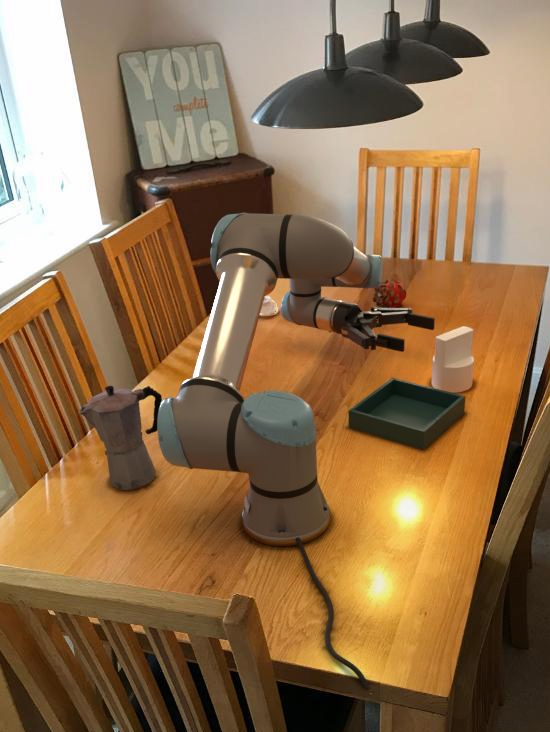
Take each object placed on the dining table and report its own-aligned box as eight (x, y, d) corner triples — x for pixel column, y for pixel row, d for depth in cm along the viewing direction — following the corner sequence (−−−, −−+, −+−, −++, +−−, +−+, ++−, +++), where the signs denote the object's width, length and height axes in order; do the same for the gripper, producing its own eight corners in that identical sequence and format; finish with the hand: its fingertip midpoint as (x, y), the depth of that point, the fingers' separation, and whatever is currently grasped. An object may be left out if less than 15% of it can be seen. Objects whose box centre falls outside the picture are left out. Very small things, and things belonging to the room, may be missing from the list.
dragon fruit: (380, 322, 223) (392, 312, 233) (406, 305, 219) (417, 295, 229) (363, 294, 222) (375, 285, 232) (389, 277, 217) (400, 269, 227)
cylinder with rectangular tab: (451, 396, 183) (454, 345, 176) (423, 383, 189) (424, 333, 182) (480, 384, 187) (484, 333, 180) (451, 371, 193) (454, 321, 186)
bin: (464, 413, 176) (465, 395, 174) (423, 450, 165) (424, 431, 163) (392, 394, 185) (392, 377, 183) (348, 427, 174) (348, 410, 172)
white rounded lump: (274, 322, 226) (274, 306, 223) (249, 320, 227) (249, 303, 224) (280, 309, 232) (280, 293, 229) (256, 307, 233) (256, 290, 230)
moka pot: (89, 478, 164) (68, 385, 152) (163, 456, 169) (148, 364, 158) (103, 501, 156) (82, 405, 145) (180, 477, 162) (165, 383, 150)
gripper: (367, 314, 208) (444, 330, 197) (310, 351, 192) (390, 371, 181) (367, 285, 203) (446, 300, 193) (308, 320, 188) (390, 338, 177)
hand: (419, 334), depth 187 cm, fingers open, 13 cm apart
